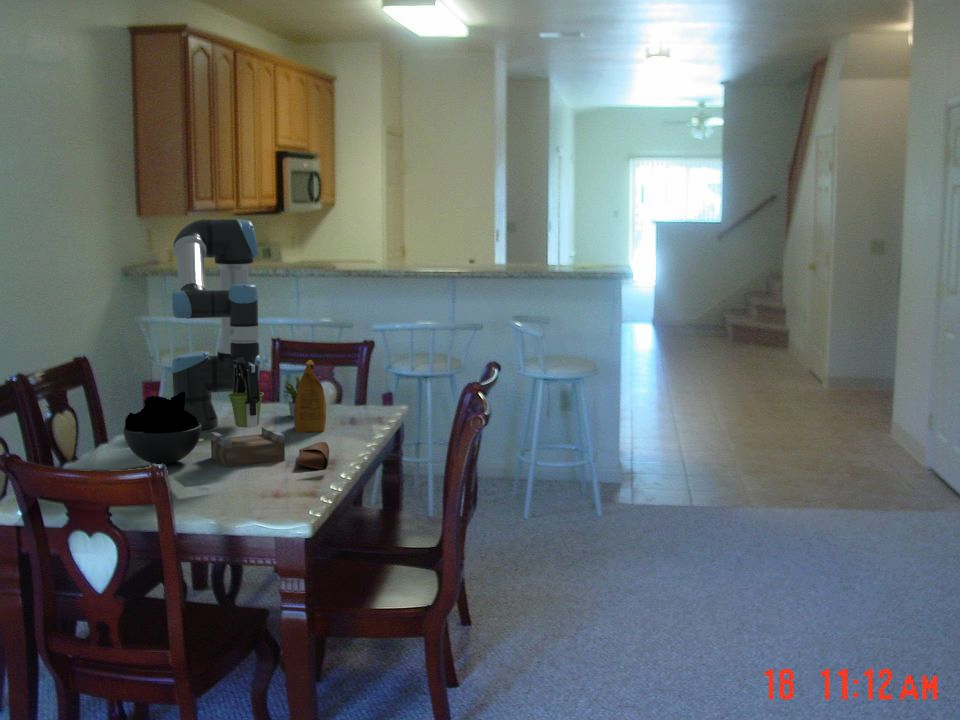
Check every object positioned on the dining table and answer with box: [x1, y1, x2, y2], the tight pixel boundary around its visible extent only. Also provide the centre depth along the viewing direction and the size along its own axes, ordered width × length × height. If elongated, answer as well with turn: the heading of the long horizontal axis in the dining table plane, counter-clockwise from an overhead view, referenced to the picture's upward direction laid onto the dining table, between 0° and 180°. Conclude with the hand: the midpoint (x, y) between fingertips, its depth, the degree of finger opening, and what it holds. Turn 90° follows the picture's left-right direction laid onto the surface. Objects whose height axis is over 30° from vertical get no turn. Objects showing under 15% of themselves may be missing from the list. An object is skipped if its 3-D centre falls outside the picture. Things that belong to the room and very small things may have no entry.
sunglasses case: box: [295, 441, 330, 470], centre depth 272 cm, size 18×7×7 cm
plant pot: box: [227, 391, 265, 428], centre depth 275 cm, size 9×9×9 cm
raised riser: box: [210, 426, 286, 468], centre depth 277 cm, size 14×16×7 cm
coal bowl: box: [122, 392, 202, 465], centre depth 270 cm, size 20×20×19 cm
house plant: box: [281, 372, 320, 418], centre depth 334 cm, size 14×14×16 cm
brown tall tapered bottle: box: [293, 359, 327, 434], centre depth 315 cm, size 10×12×22 cm
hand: (246, 424), depth 276 cm, fingers closed on plant pot, 8 cm apart
